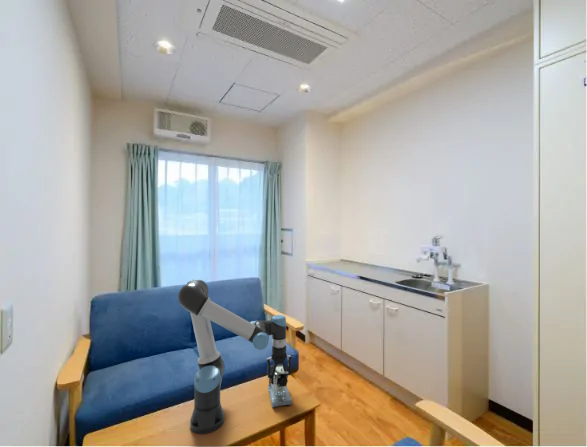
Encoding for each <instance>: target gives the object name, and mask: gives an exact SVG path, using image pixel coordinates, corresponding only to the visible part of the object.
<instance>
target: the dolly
mask: <svg viewBox="0 0 587 447" xmlns="http://www.w3.org/2000/svg"><path fill="white" fill-rule="evenodd" d="M277 366H282V363H280V364H277ZM272 368H273V365H270V374H271V372H272ZM275 388H276V384H275ZM267 390H268V395H269V399H270V403H271V407H272V409H276V408H277V407H280V406H286V405H287V407H291V405H292V404H293V400H292V397H291V394H290V391H289V389H288V385H287V386H286V390H284V388H283V392H278V393H277V391H276V389H275V391H273V384H271V378H268V385H267Z"/></svg>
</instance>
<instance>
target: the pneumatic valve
mask: <svg viewBox="0 0 587 447" xmlns="http://www.w3.org/2000/svg"><path fill="white" fill-rule="evenodd" d="M286 371H287V370H286ZM286 371H284V369H283V366H276V370H275V374H274V377H275V382H276V388H275V389H276V391H277V393H278V392H283V386H287V387H288V385H287V384H288V382H289V381H288V377H289V375H288V374H287V372H288V371H287V372H286ZM287 376H288V377H287Z"/></svg>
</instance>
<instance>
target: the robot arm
mask: <svg viewBox="0 0 587 447" xmlns="http://www.w3.org/2000/svg"><path fill="white" fill-rule="evenodd" d="M177 299H178V300H177V301H178V303H179V304H180V306H181V307H182V308H184V309H185V310H186V311H187V312H189V313H190V317H191V322H192V326H193V333H194V336H195V340H196V345H197V351H198V354H199V357H198V359H197V365H198V370H197V371H196V373H195V375H194V378H193V386H194V387H193V388H194V390H193V393H194V394H193V395H194V396H193V397H194V401H193V403H194V405H193V406H194V407H193V410H192V414H191V417H190V421H189V422H190V424H189V426H190V429H191V431H192V432H194V433H195V434H200V435H205V434H210V433H212V432H214V431H216V430H218V429H219V428H221V426H222V425H223V423H224V422H225V413H224V412H225V411H224V409H223V407H222V403H221V387H222V386H221V384H222V380H223V377H224V376H223V375H224V373H225V367H226V365H225V360H224V358H223V357H222V354H221V352H220V351H218V350H217V346H216V342H215V337H214V332H213V329H212V328H213V326H212V323H211V322H213V323H215V324H217V325H218V326H220V327H222V328H224V329H225V330H228V331H230V332H232V333H233V334H235V335H237V336H239V337H241V338H243V339H244V340H245V341H248V342H250V343H251V344H252V345H253V347H254V348H255V350H259V351H261V350H264V349H266V348H267V347H268V346H269V341H270V338H269V336H271V342H272V343H271V345H272V346H271V356H270V357H266V361H267V370H266V371H267V378H268V379H269V378H271V384H273V391H275V377H274V374H275V370H276V366H277V365H280V364H282V366H283V369H284V371H286V372H287V374H288V376H287V378H288V377H289V376H291V374H292V359H293V357H292V355H291V354H287V318H286V317H285V315H282V314H275V315H273V316H272V317H271V319H270V320H252V321H248V320H247V319H245V318H243V317H241V316H239V315H237V314H235V313H234V312H232V311H231V310H228V309H227V308H225V307H223V306H222V305H219V304H217V303H215V302H214V301H212V300H211V298H210V296H209V285H208V284H207V282H206V281H204V280H203V279H200V278H196V279H192V280H190V281H188V282H187V283H186V284H184V285H183V286H182V287H181V289H180V290H179V291H178V295H177ZM285 360H287V368H286V365H285ZM272 361H273V364H272V366H273V368H271V374H270V366H271V362H272ZM283 388H284V390H286V386H283Z"/></svg>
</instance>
